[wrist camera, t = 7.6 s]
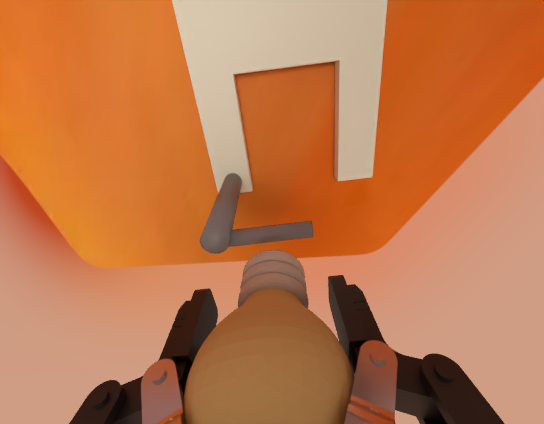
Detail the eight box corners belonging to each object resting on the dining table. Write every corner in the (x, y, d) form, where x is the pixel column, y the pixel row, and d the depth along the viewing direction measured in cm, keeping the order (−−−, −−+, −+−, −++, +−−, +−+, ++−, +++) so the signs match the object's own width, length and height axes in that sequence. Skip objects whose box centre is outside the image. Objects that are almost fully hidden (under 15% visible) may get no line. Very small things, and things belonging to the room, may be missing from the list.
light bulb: (252, 312, 17) (227, 548, 9) (204, 247, 15) (96, 495, 6) (337, 286, 16) (411, 535, 7) (301, 209, 13) (350, 457, 5)
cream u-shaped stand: (386, -93, 19) (600, -400, 7) (367, 172, 29) (440, 233, 17) (162, -61, 19) (0, -298, 7) (220, 190, 30) (192, 261, 18)
